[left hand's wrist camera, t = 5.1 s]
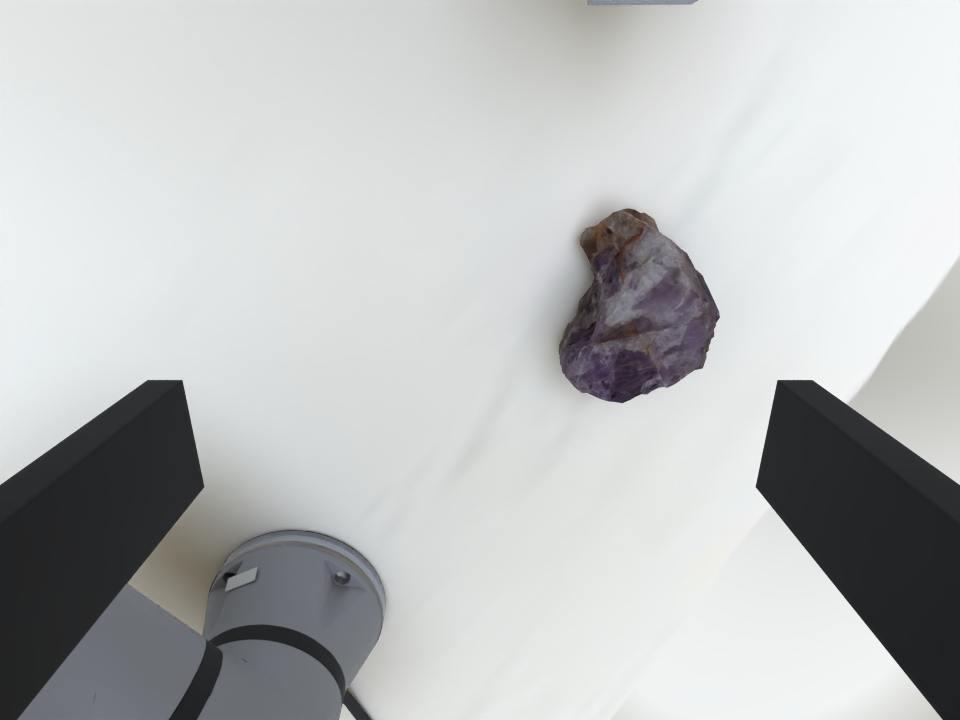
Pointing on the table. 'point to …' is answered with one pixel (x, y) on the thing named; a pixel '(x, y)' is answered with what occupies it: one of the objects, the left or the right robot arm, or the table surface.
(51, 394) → the table surface
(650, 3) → the bar
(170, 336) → the table surface
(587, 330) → the rock
